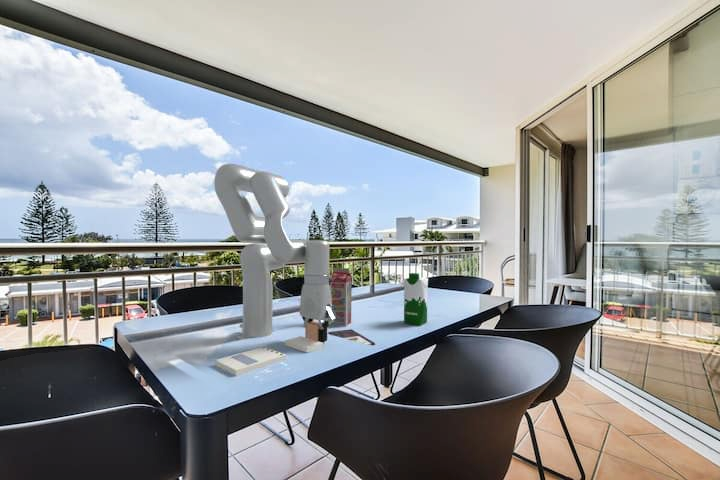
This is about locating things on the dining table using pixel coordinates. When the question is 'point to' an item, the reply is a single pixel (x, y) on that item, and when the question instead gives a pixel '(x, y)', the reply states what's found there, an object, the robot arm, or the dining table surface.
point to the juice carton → (341, 296)
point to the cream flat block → (249, 360)
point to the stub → (307, 339)
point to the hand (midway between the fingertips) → (316, 339)
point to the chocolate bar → (352, 336)
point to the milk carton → (415, 299)
